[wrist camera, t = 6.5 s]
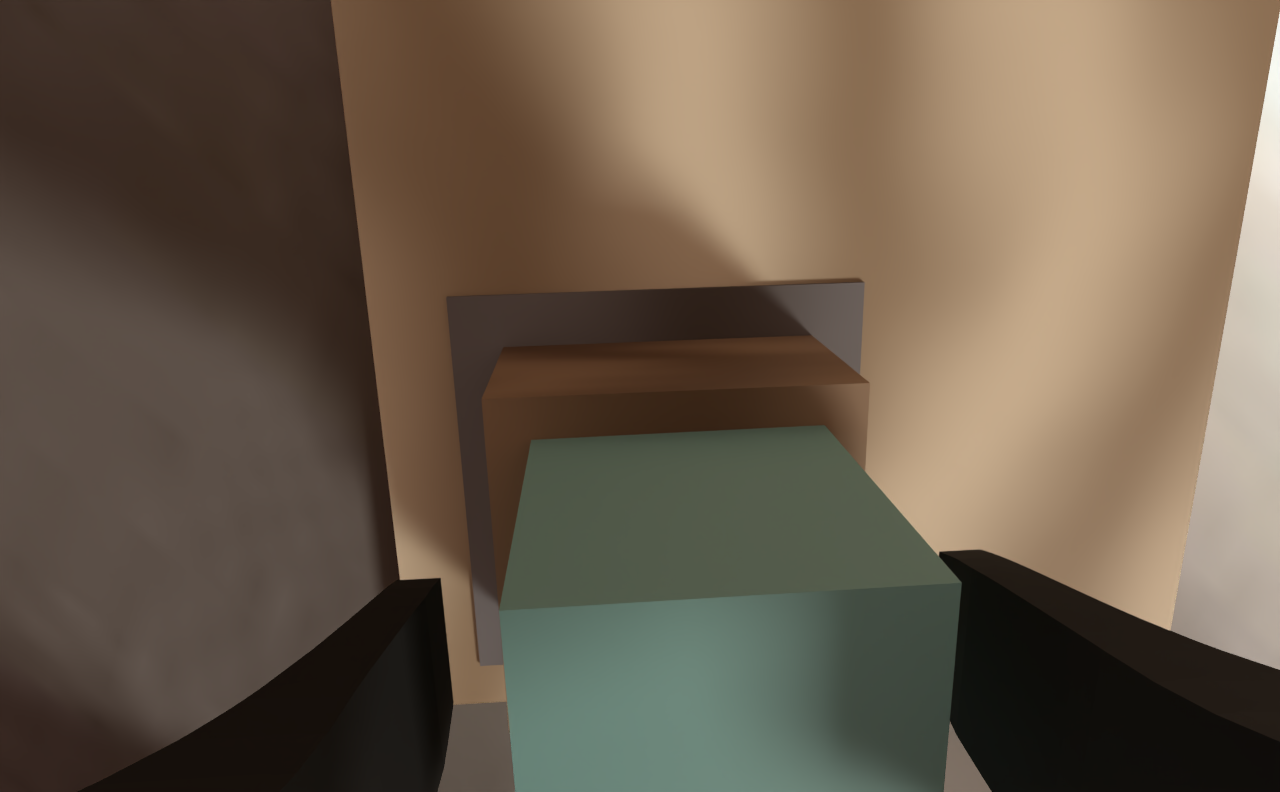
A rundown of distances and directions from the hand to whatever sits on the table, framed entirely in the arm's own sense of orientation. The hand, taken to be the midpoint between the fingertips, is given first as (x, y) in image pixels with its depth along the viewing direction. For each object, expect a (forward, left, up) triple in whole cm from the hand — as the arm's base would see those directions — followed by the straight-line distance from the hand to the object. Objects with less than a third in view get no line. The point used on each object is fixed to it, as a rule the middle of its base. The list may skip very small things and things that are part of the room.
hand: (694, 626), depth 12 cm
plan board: (+3, +2, -6) cm, 7 cm away
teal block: (0, 0, -2) cm, 2 cm away
